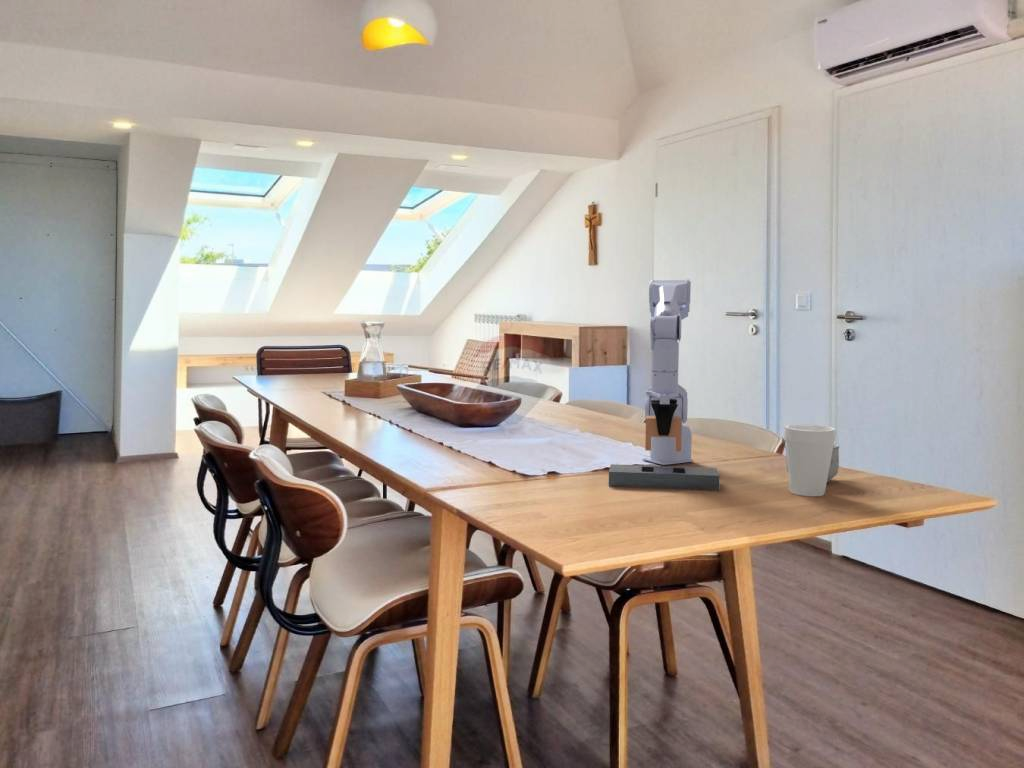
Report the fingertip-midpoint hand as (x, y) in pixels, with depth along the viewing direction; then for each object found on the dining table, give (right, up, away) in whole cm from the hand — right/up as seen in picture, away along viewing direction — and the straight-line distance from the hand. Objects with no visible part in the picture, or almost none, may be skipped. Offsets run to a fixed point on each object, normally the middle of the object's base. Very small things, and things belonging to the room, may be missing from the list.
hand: (663, 433), depth 178 cm
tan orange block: (0, -3, 0) cm, 3 cm away
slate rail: (-2, -10, -8) cm, 13 cm away
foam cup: (+26, -11, -15) cm, 32 cm away
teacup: (+32, -10, -4) cm, 33 cm away
